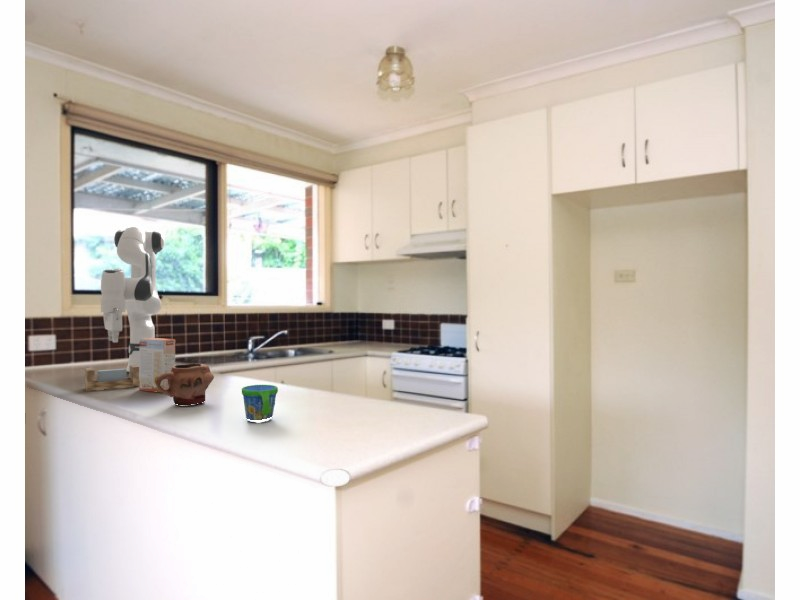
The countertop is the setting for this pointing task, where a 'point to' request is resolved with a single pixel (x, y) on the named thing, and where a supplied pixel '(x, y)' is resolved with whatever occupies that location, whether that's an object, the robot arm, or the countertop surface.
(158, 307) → the robot arm
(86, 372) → the track frame
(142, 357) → the cracker box
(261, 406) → the snack cup
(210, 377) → the brown mug
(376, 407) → the countertop surface
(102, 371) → the door panel
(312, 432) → the countertop surface
